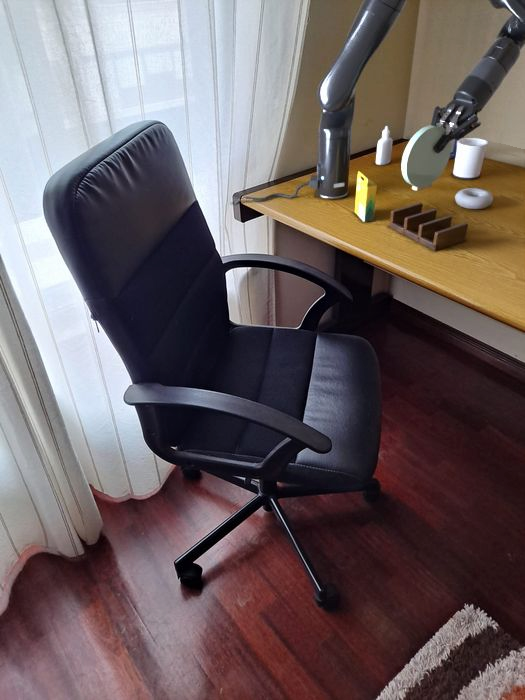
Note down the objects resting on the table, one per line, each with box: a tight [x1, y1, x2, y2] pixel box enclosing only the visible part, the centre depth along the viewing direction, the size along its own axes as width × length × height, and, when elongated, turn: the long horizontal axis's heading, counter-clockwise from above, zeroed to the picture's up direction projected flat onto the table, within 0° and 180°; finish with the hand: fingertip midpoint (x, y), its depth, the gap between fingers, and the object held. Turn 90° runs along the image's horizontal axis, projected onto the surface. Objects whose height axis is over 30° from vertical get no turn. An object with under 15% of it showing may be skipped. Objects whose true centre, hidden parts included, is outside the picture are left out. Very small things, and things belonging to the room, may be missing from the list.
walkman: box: [447, 123, 465, 160], centre depth 170 cm, size 8×3×12 cm, turn 122°
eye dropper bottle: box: [375, 125, 394, 166], centre depth 168 cm, size 4×6×12 cm
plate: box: [400, 124, 451, 192], centre depth 119 cm, size 2×14×14 cm, turn 119°
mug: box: [452, 137, 489, 181], centre depth 156 cm, size 11×9×10 cm
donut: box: [454, 187, 494, 210], centre depth 140 cm, size 10×4×10 cm
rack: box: [389, 201, 469, 252], centre depth 126 cm, size 17×10×4 cm, turn 29°
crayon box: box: [354, 170, 378, 223], centre depth 134 cm, size 7×3×12 cm, turn 12°
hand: (432, 149), depth 119 cm, fingers closed on plate, 2 cm apart
